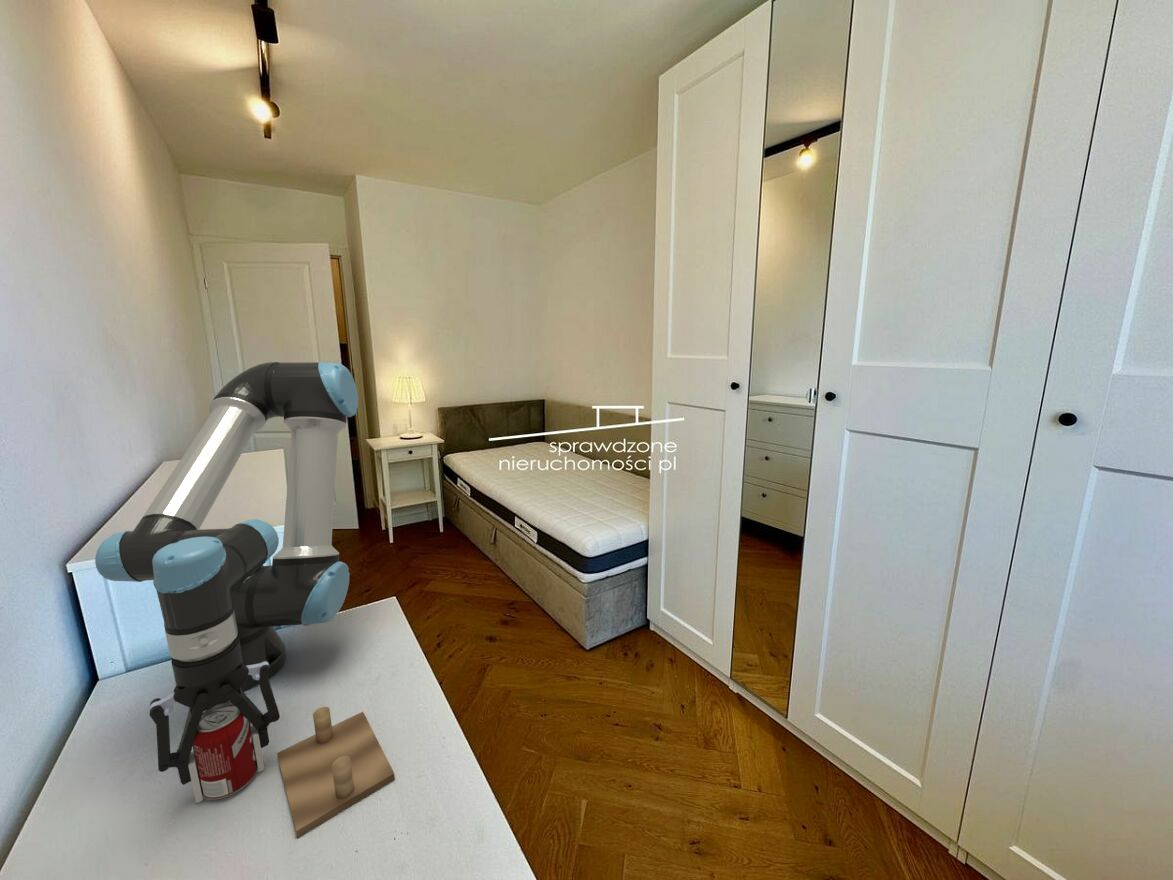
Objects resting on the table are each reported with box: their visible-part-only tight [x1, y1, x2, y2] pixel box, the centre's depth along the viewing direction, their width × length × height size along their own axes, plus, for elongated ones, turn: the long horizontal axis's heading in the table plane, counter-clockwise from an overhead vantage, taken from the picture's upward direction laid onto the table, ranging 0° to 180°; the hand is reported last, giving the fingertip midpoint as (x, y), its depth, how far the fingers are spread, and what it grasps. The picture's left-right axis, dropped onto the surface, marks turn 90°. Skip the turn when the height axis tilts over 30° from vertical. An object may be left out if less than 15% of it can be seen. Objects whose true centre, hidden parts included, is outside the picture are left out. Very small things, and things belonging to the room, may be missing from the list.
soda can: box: [192, 701, 258, 800], centre depth 69 cm, size 7×7×12 cm
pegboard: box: [276, 706, 396, 839], centre depth 72 cm, size 16×13×6 cm
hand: (230, 779), depth 70 cm, fingers closed on soda can, 7 cm apart
